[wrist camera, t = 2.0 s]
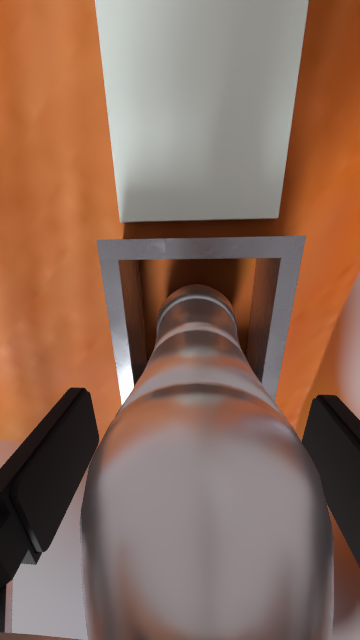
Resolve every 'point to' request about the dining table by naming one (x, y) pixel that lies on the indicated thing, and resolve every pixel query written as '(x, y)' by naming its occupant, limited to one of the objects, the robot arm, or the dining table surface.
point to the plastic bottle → (204, 499)
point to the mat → (200, 104)
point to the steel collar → (271, 252)
